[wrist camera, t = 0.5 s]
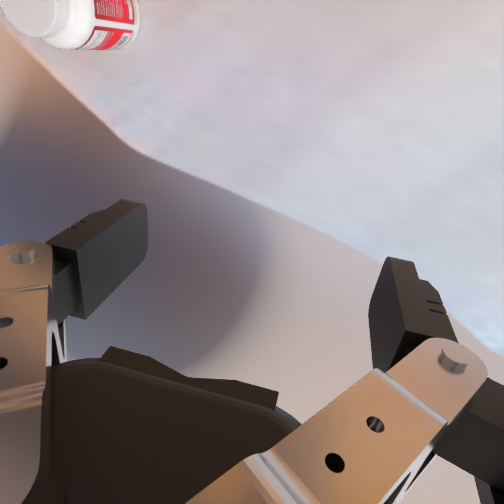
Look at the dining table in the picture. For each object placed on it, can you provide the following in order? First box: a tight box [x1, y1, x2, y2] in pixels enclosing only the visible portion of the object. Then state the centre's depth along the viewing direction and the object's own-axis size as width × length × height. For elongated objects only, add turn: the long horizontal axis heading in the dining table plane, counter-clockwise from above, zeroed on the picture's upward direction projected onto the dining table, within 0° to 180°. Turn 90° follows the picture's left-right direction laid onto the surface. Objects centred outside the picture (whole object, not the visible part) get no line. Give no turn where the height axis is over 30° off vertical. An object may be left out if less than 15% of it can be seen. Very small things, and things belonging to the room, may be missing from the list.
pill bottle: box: [0, 0, 140, 50], centre depth 30 cm, size 6×6×11 cm
